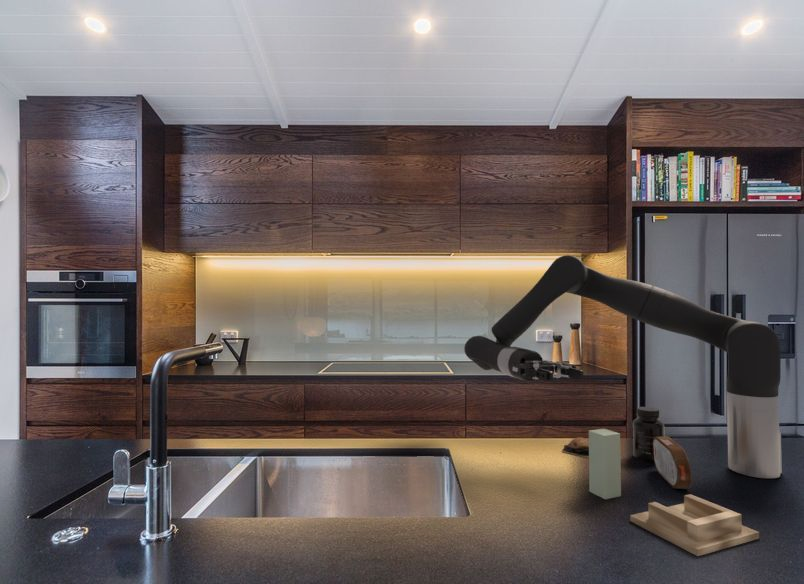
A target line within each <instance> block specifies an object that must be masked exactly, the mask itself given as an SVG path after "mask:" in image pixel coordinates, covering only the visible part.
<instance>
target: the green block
mask: <svg viewBox="0 0 804 584" xmlns="http://www.w3.org/2000/svg"><path fill="white" fill-rule="evenodd" d="M588 440H589V458H588V467H589V468H588V474H589V476H588V478H589V479H588V481H589V484H588V485H589V486H588V487H589V493H591V494H594V495H595V496H598V497H600V498H602V499H603V500H609V499H613V498H618V497H621V496H622V478H621V475H622V474H621V473H622V472H621V471H622V470H621V469H622V468H621V463H622V462H621V433H619V432H616V431H613V430H610V429H606V428H598V429H590V430H588Z"/></svg>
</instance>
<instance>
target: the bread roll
mask: <svg viewBox="0 0 804 584" xmlns="http://www.w3.org/2000/svg"><path fill="white" fill-rule="evenodd" d="M561 453H563V454H567V455H571V456H574V457H575V456H576V457H580V458H583V459H589V438H585V437H575V438H573V439H571V440H570V441H569V443H567V444H564V445H563V449H562V450H561Z"/></svg>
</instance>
